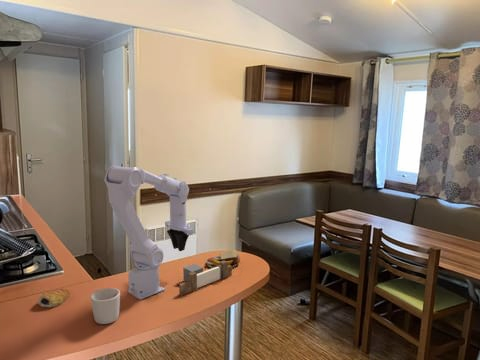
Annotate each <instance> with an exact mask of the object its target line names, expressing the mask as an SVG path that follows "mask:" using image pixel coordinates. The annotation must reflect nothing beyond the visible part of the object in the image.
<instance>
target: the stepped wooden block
mask: <svg viewBox="0 0 480 360" xmlns="http://www.w3.org/2000/svg"><path fill="white" fill-rule="evenodd" d="M220 265H221V278H220V279H223V280H225V279H228V277H231V276H232V275H233V268H232V266H230V265H229V266H228V262H227V261H224V260H223V261H221V262H220ZM196 291H198V288H197V273H195V272H190V273H188V281H187V282H185V281H183V282H182V283H180V284H179V295H180V296H184V295H186V294H188V293H189V294H190V293H191V292H192V293H193V292H196Z"/></svg>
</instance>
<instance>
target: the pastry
mask: <svg viewBox="0 0 480 360" xmlns="http://www.w3.org/2000/svg"><path fill="white" fill-rule="evenodd" d="M70 295H71V294H70V290H69V289H66V288H64V287H63V288H59V289H52V290H48V291H47V292H44V293H43V294H42V295H41V296H40V297H39V298H38V300H37V304H38V305H39V306H40V307H44V308H56V307H58V306H59V305H61V304H63V303H64V302H65V301H67V299H68V298H70Z"/></svg>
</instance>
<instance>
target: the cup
mask: <svg viewBox="0 0 480 360" xmlns="http://www.w3.org/2000/svg"><path fill="white" fill-rule="evenodd" d="M120 301H121V291H120V290H119V289H118V288H114V287H105V288H104V287H103V288H100V289H98V290H95V291H93V292H92V293H91V294H90V302H91V303H90V304H91V307H92V313H93V318H94V321H95V322H96V323H97V324H99V325H108V324H111V323H114V322H115V321H116V320H117V319H118V318H119V317H120V316H119V315H120V303H121V302H120Z"/></svg>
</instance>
